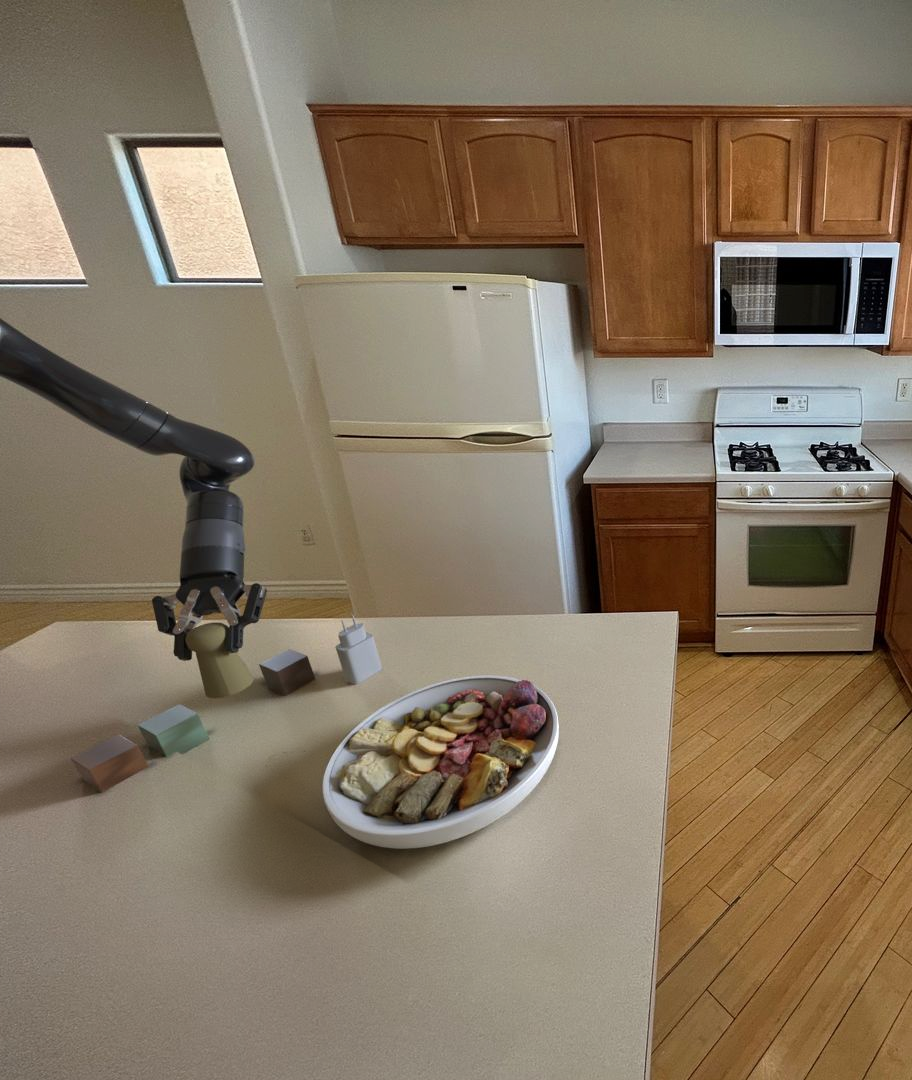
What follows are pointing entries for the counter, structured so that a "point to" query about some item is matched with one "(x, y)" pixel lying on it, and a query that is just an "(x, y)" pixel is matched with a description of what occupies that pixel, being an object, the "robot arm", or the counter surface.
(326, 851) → the counter surface
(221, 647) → the cork
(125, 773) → the block row
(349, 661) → the power adapter
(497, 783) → the bowl
